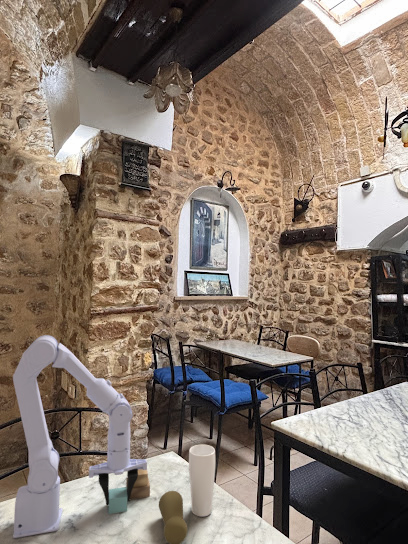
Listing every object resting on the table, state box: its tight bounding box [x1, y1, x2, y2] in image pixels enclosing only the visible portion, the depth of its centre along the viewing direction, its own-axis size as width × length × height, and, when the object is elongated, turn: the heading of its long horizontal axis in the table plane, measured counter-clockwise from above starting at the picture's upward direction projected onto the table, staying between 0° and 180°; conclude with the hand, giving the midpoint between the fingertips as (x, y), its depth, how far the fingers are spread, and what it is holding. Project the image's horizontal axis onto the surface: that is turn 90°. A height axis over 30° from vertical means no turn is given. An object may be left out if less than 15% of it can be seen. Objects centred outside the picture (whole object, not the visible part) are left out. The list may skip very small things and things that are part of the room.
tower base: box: [125, 477, 151, 500], centre depth 93 cm, size 6×6×3 cm
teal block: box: [108, 486, 128, 515], centre depth 86 cm, size 4×4×4 cm
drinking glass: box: [188, 443, 216, 518], centre depth 85 cm, size 7×7×15 cm
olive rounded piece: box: [158, 490, 188, 544], centre depth 78 cm, size 6×6×11 cm
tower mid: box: [133, 469, 149, 487], centre depth 93 cm, size 5×5×3 cm
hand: (117, 501), depth 86 cm, fingers closed on teal block, 4 cm apart
